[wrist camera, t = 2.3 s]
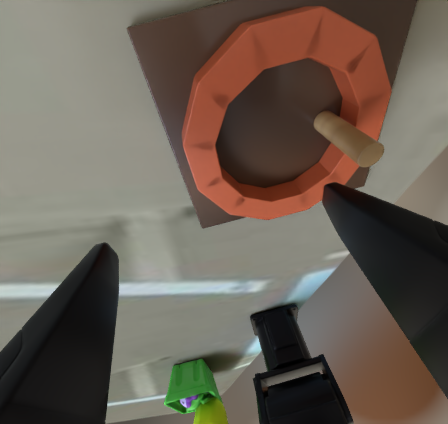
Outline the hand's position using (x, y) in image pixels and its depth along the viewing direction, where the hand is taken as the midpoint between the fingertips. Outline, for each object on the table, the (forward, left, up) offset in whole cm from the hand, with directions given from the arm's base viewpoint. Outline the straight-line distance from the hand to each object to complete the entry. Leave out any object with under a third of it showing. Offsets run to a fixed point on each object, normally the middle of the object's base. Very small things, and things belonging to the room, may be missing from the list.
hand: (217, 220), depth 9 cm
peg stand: (0, -5, -6) cm, 8 cm away
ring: (0, -5, -6) cm, 7 cm away
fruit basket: (-41, +12, -7) cm, 43 cm away
